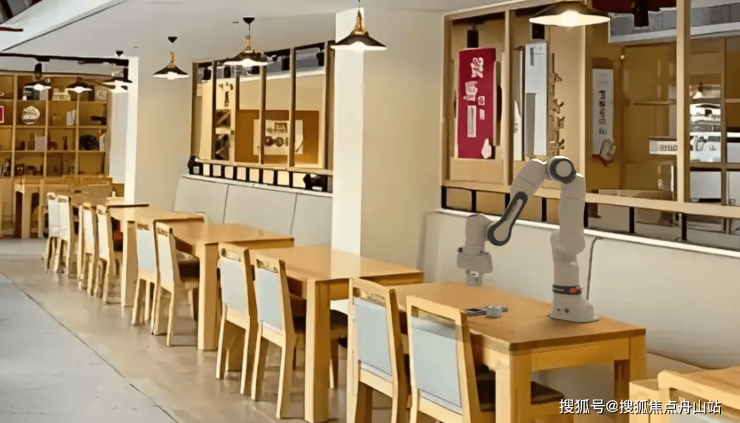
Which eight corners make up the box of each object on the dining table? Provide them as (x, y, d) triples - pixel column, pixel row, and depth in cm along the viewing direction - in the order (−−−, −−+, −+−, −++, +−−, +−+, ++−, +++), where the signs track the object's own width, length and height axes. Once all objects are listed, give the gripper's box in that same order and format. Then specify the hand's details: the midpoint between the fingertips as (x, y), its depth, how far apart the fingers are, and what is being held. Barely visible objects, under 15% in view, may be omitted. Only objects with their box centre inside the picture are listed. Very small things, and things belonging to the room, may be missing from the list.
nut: (502, 318, 383) (502, 306, 383) (496, 319, 379) (497, 308, 379) (491, 316, 386) (492, 305, 386) (486, 318, 382) (486, 307, 382)
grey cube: (482, 285, 386) (482, 274, 386) (473, 286, 383) (473, 275, 383) (474, 284, 390) (474, 273, 390) (466, 285, 388) (466, 273, 387)
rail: (508, 313, 394) (508, 307, 394) (471, 318, 382) (471, 312, 382) (495, 310, 401) (495, 304, 401) (459, 315, 388) (459, 309, 388)
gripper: (496, 251, 379) (495, 283, 380) (465, 247, 396) (464, 277, 397) (485, 252, 375) (484, 284, 376) (454, 248, 392) (454, 278, 393)
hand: (474, 280), depth 387 cm, fingers closed on grey cube, 5 cm apart
